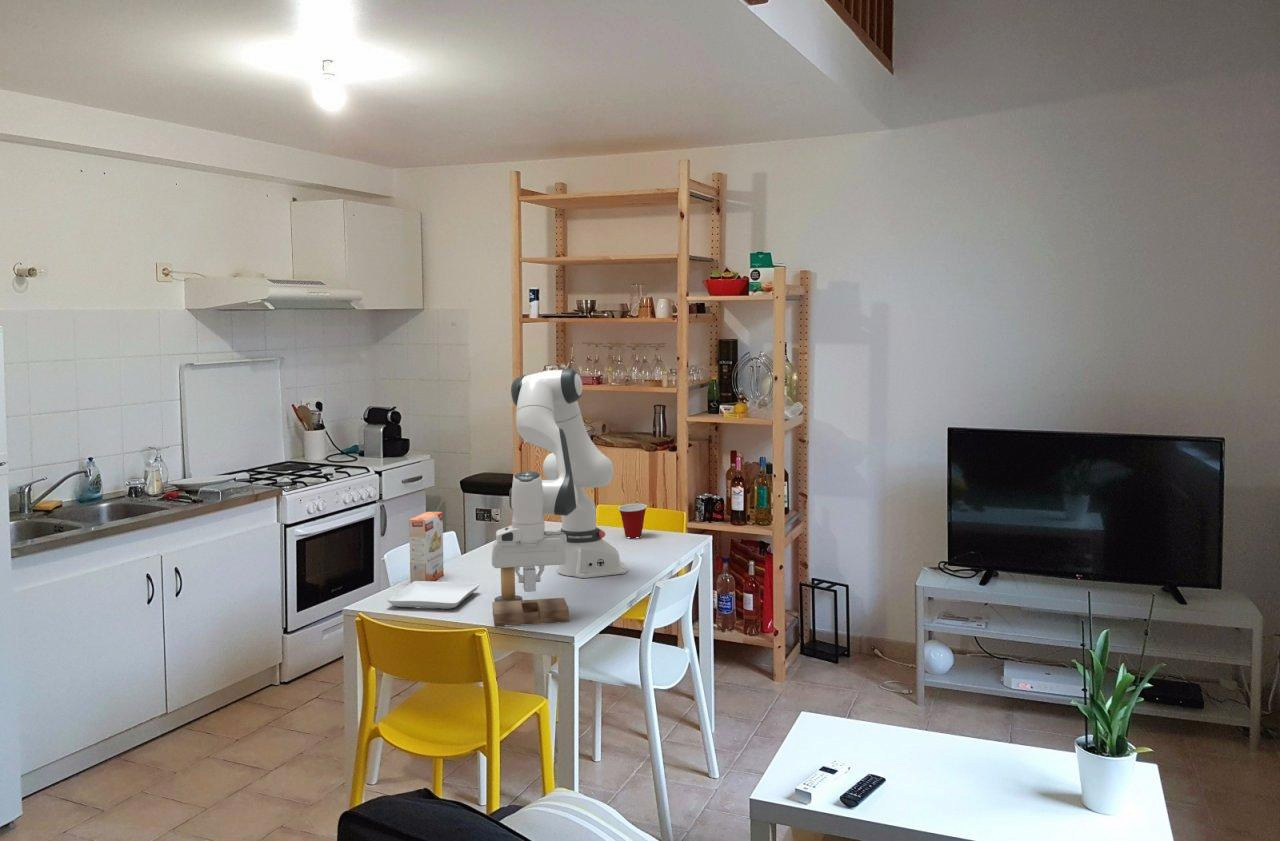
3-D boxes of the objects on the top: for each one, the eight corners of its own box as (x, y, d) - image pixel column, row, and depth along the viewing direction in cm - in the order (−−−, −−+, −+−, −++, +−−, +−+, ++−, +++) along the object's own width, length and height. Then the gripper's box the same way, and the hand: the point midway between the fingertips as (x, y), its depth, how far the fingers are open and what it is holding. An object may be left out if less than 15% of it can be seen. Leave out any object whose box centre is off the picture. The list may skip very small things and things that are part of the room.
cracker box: (428, 586, 319) (425, 519, 317) (409, 585, 321) (407, 519, 319) (445, 575, 333) (443, 511, 331) (427, 574, 334) (425, 510, 332)
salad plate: (456, 613, 291) (456, 601, 290) (385, 611, 294) (385, 599, 294) (481, 593, 311) (481, 582, 311) (414, 591, 315) (414, 580, 315)
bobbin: (521, 599, 303) (520, 557, 302) (523, 606, 296) (522, 563, 294) (494, 600, 302) (492, 558, 301) (495, 608, 294) (494, 565, 293)
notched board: (564, 609, 292) (563, 597, 291) (569, 621, 280) (568, 609, 280) (492, 614, 288) (492, 602, 288) (494, 626, 276) (494, 614, 276)
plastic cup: (612, 537, 387) (611, 506, 386) (633, 533, 394) (633, 502, 393) (631, 542, 379) (631, 509, 378) (653, 537, 386) (652, 505, 385)
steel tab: (534, 586, 285) (534, 565, 284) (536, 591, 280) (535, 569, 279) (523, 587, 284) (523, 565, 284) (524, 592, 279) (524, 570, 279)
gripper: (565, 527, 286) (566, 576, 287) (490, 531, 282) (491, 581, 283) (567, 532, 279) (568, 582, 281) (491, 536, 276) (492, 586, 277)
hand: (529, 581), depth 282 cm, fingers closed on steel tab, 3 cm apart
